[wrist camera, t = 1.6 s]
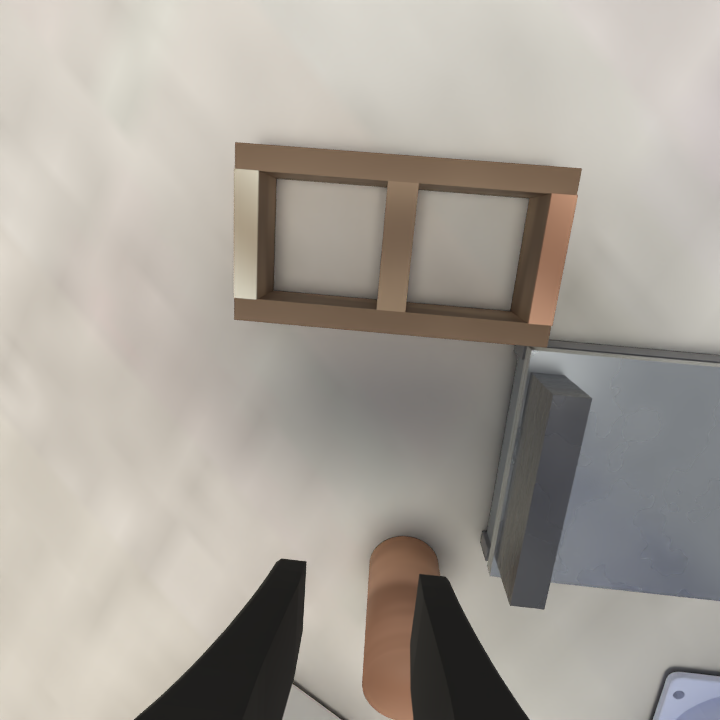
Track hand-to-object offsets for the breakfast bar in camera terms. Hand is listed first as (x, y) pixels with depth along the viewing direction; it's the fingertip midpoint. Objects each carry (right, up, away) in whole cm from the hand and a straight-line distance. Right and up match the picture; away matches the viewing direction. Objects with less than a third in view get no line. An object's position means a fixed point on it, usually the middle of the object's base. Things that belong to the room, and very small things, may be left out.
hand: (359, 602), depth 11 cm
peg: (+2, -4, +11) cm, 12 cm away
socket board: (+1, +10, +7) cm, 12 cm away
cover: (+10, +1, +7) cm, 13 cm away
